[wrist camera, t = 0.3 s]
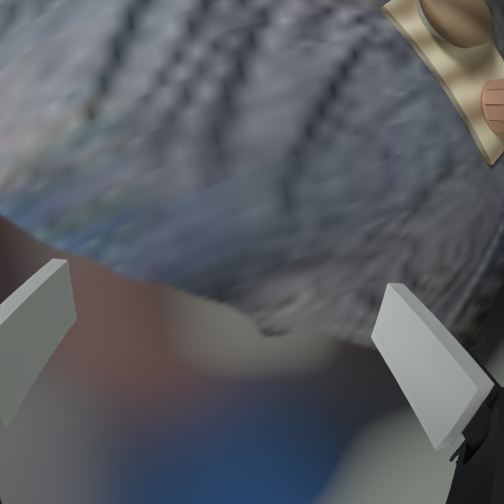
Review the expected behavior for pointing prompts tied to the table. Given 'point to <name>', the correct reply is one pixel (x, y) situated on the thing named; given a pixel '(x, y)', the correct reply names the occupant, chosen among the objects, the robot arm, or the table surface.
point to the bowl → (493, 105)
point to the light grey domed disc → (427, 22)
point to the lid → (460, 21)
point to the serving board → (454, 71)
